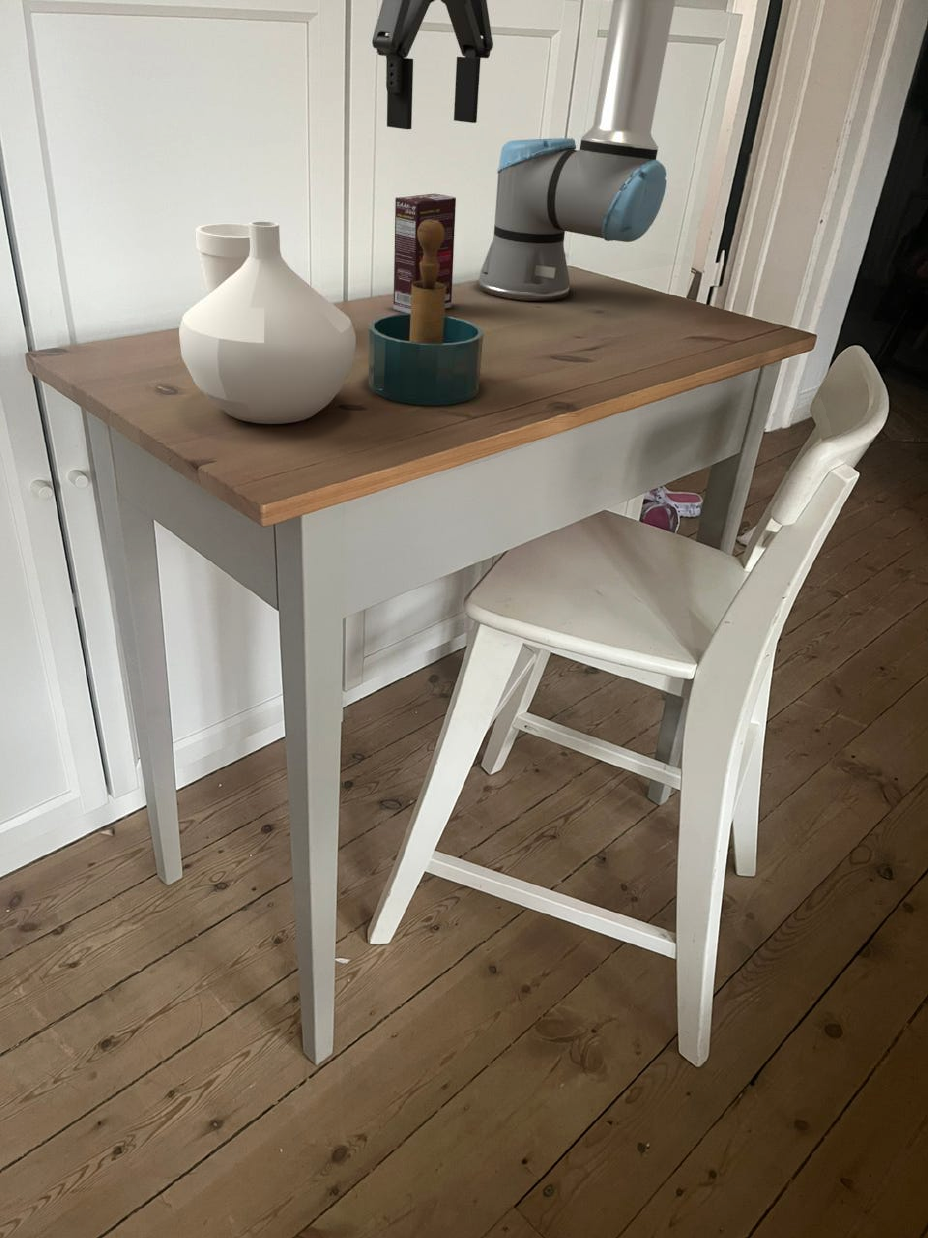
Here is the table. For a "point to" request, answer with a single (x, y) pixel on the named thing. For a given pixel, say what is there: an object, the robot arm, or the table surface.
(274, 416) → the vase
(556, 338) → the table surface
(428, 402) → the crock
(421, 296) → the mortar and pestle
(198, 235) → the foam cup
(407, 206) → the supplement box
